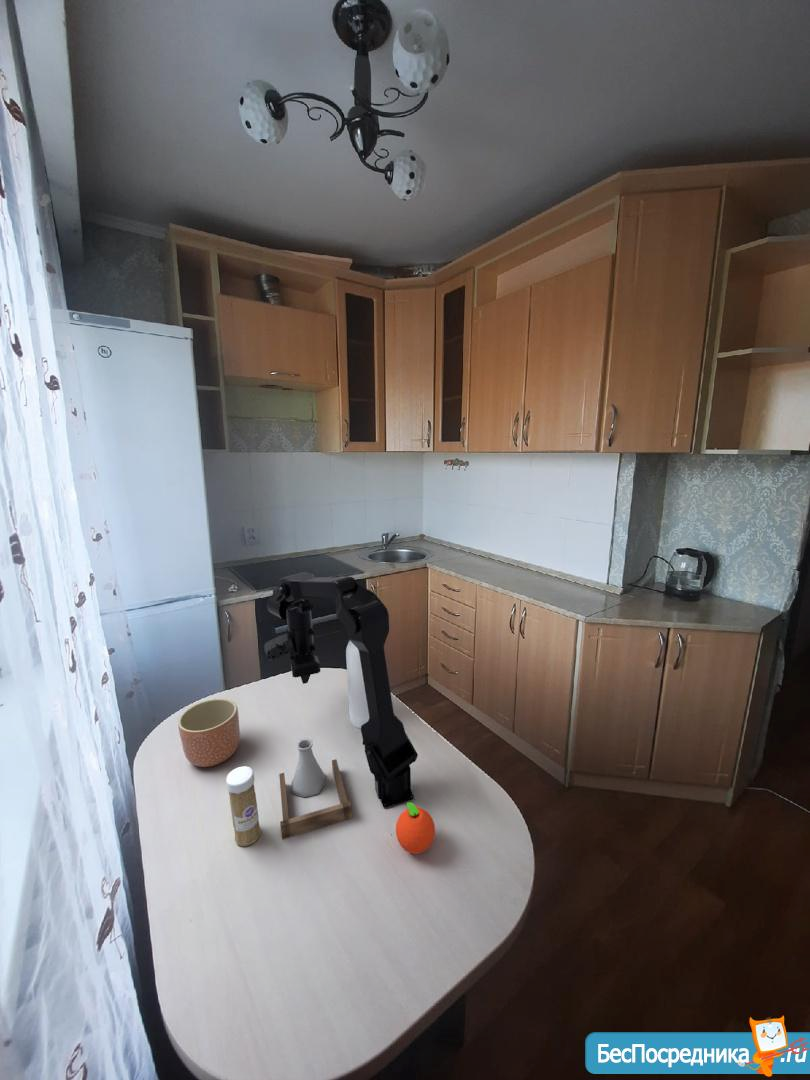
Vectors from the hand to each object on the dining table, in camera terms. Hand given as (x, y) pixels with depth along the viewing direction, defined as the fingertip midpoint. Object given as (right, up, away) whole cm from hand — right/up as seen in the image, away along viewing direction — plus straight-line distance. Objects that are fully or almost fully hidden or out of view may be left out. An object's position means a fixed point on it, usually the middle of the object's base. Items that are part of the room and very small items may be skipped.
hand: (305, 682), depth 107 cm
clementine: (+27, -19, -30) cm, 44 cm away
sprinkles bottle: (-4, -19, -27) cm, 34 cm away
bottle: (+15, -11, +4) cm, 19 cm away
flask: (+4, -16, -16) cm, 23 cm away
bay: (+6, -17, -20) cm, 27 cm away
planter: (-19, -15, -7) cm, 25 cm away
